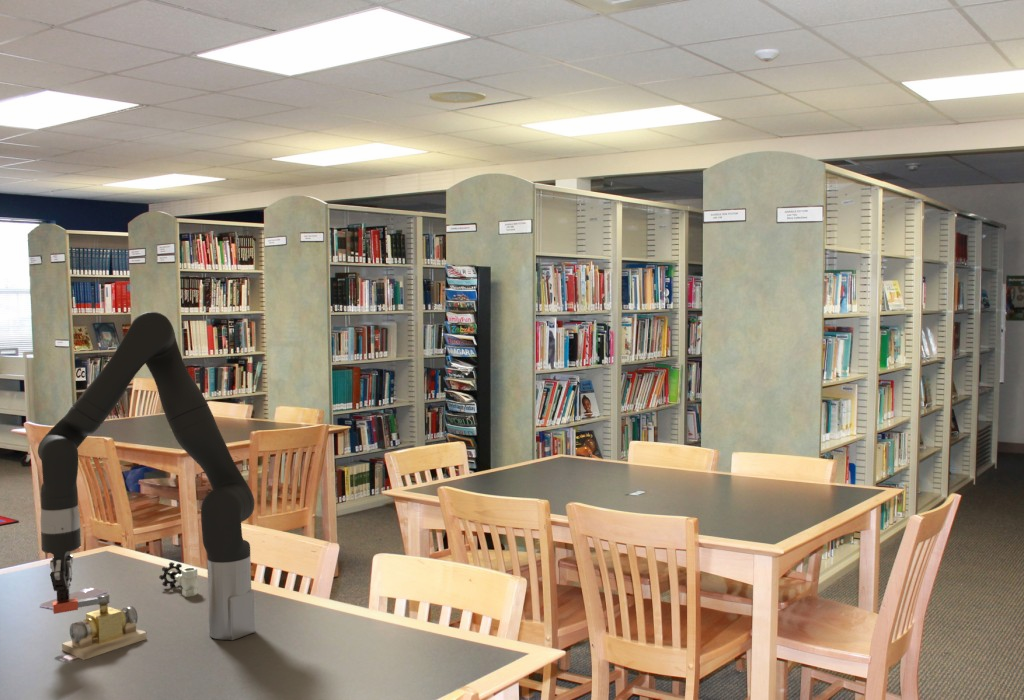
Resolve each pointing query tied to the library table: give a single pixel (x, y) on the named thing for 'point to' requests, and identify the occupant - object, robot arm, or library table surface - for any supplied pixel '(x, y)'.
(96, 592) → the mobile phone
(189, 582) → the valve
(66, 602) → the valve lever
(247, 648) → the library table surface
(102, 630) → the valve body
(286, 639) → the library table surface
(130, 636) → the pipe board
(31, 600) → the library table surface
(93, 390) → the robot arm
